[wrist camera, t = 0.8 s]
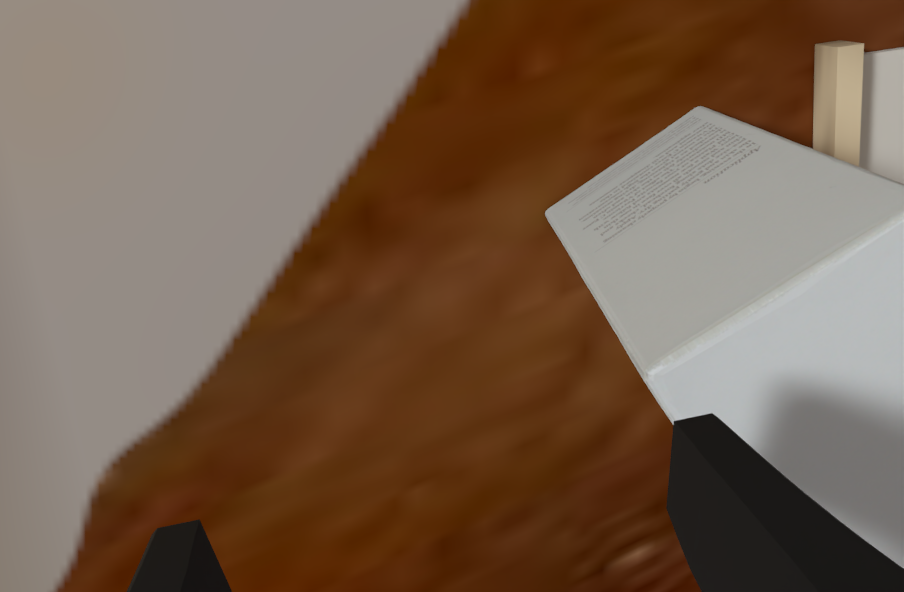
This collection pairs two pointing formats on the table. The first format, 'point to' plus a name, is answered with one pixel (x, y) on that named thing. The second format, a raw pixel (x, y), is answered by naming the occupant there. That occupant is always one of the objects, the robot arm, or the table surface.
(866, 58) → the mat
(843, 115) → the oak strip
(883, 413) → the small box
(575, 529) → the table surface
